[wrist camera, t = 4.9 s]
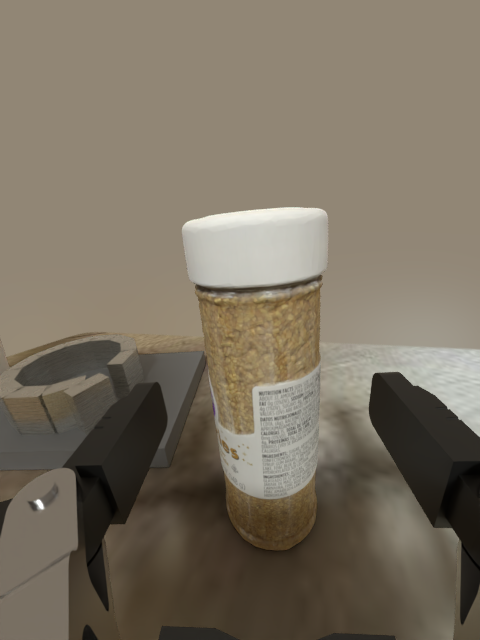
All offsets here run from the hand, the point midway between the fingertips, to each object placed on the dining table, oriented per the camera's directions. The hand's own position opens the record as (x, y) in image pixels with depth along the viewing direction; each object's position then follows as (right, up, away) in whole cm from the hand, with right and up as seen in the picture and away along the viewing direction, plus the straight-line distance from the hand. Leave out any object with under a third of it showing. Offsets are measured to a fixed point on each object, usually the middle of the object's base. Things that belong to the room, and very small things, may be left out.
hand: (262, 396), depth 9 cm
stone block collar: (-14, -3, +11) cm, 18 cm away
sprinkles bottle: (+1, -6, +3) cm, 7 cm away
